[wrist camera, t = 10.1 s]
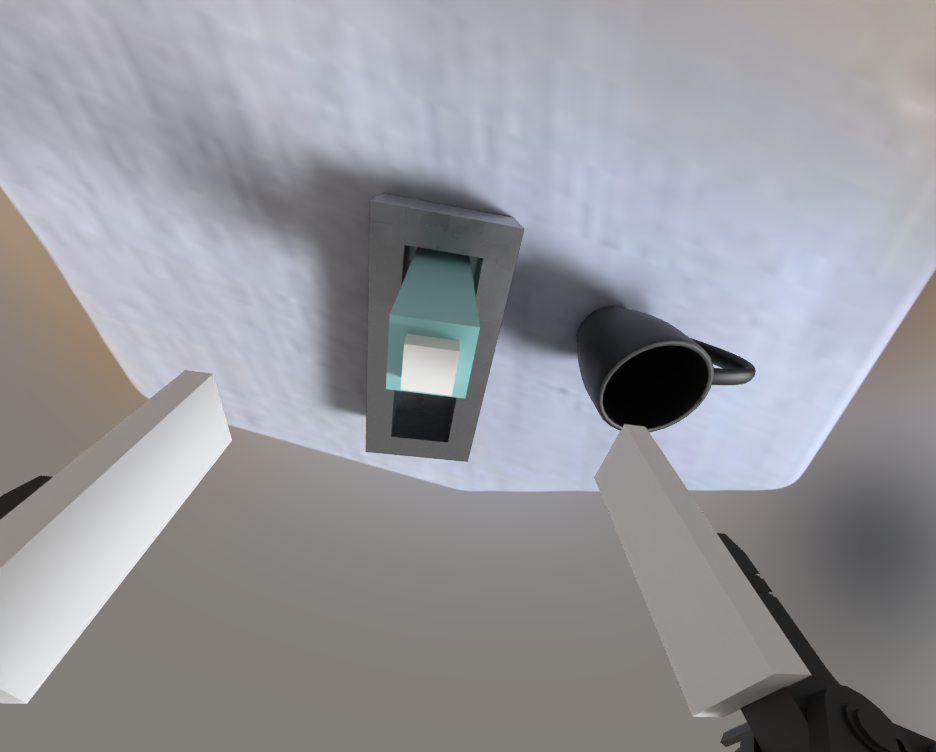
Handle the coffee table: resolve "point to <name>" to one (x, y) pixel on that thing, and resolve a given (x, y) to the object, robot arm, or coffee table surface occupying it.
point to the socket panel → (390, 254)
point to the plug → (433, 326)
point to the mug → (649, 368)
